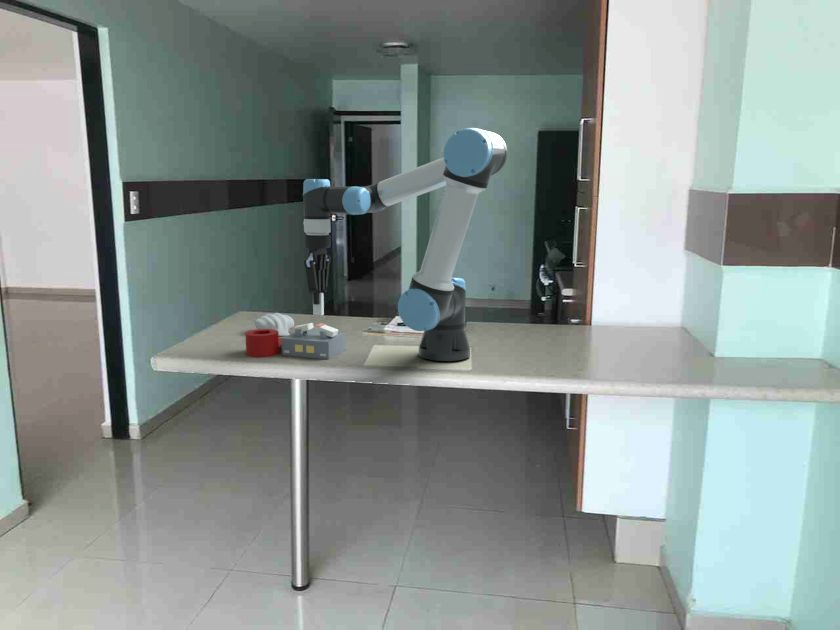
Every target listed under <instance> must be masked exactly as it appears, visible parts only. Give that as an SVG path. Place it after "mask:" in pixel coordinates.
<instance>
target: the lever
mask: <svg viewBox="0 0 840 630" xmlns="http://www.w3.org/2000/svg"><path fill="white" fill-rule="evenodd" d="M281 338H282V337H280V336H279V332H278V331H277V330H274V329H257V328H256V329H250V330H247V331H246V332H245V352H246V353H245V355H246V356H248V357H251V358H271V357H276V356H278V355H279V354H280V353H282V342H281Z"/></svg>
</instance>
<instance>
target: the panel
mask: <svg viewBox="0 0 840 630" xmlns="http://www.w3.org/2000/svg"><path fill="white" fill-rule="evenodd" d="M346 333H347V332H346ZM346 333H344V332H343V333H342V332H338V334H337V335H336V336H334V337H330V336H327V335H325V331H320V333H319V332H316V331H314V330H307V331H302V332H301V329H295V333H293V334H291V333H289V334H290V335H288V336H284V337H280V338H281V342H282V352H281V355H282V356H289V357H290V356H291V357H300V356H301V357H303V358H312V359H321V360H330V359H332V358H334V357H336V356H338V355H339V354H341V353H342V352H344V351H346V350H347V337H346V335H347V334H346Z"/></svg>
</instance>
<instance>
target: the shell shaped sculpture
mask: <svg viewBox="0 0 840 630" xmlns="http://www.w3.org/2000/svg"><path fill="white" fill-rule="evenodd" d="M254 325H255V328H256V329H274V330H277V331H278V332H279V337H281V338H283V337H286V336H288V335H290V334H291V333H290V328H291V327H294V326H295V321H294V319H293V317H291V316H289V315H287V314H282V313H279V312H274V313H266V314H264V315H261V316H260V317H258V319H255V320H254Z"/></svg>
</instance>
